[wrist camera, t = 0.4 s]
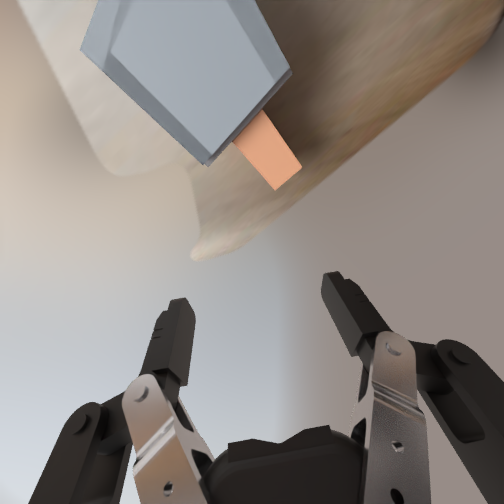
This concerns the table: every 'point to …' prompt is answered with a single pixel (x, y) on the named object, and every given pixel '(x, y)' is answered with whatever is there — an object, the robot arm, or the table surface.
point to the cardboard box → (267, 150)
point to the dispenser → (189, 64)
